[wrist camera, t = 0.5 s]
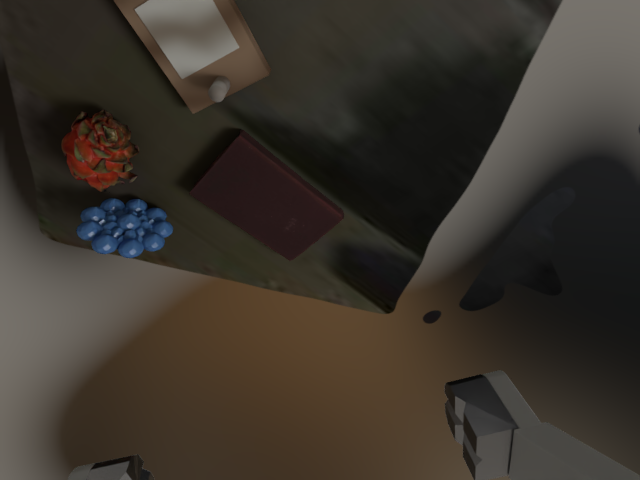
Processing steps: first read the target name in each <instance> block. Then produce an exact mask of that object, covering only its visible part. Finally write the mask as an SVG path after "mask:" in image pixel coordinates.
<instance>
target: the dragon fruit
mask: <svg viewBox="0 0 640 480" xmlns="http://www.w3.org/2000/svg"><path fill="white" fill-rule="evenodd" d="M71 128H72V132H70V133H67V134H66V135H65V136H64V138H63V140H62V144H61V146H62V151H63V154H64V156H65V157H66V156H67V164H68V166H69V169H70V171H71V174H72V175H73V176H74V178H75V179H76V180H83V181H86V182H87V183H89V184H90V186H92V187H94V188H96V189H97V190H98V191H100V192H103V191H106V190H104V189H106V188H108V187H109V186H110V185H115V184H116V183H121V184H124V183H125V182H124V181H122V180H118V177H122V178H124V179H130V180H129V183H131V182H133V181H134V180H135V179H136V178H137V175H135V174H133V173H131V172H129V170H132V169H133V165H132V163H131V162H129V160H128V159H130V158H132V157H134V156H135V155H136V154H138V153H139V146H138V145H134V144H132V143H131V142H129V139H130V134H131V131H130V129H129V127H128V126H127V125H122V124H120V123H119V122H118V121H116V120H113V117H112V114H110V113H109V112H107V111H105V110H102V111H100V112H98V113H96V114H94V115H93V117H92V118H91V119H90V118H89V117H88V114H87V113H85V112H83V111H81V112H80V113H79V115H78V116H77V118H76V120H75V121H74V122H73V123H72V126H71ZM117 180H118V181H117ZM109 193H110V192H109Z"/></svg>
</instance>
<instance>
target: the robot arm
mask: <svg viewBox="0 0 640 480" xmlns="http://www.w3.org/2000/svg"><path fill="white" fill-rule="evenodd" d="M445 394H446V396H447V398H448V400H447V402H446V403H445V413H446V417H447V421H448V425H449V427H450V430H451V432H452V434H453V437H454V439H455V441H457V442H458V443H460V444H461V445H463V458H464V460H465V462H466V464H467V466H468V468H469V470H470V472H471V474H472V477H473V479H474V480H489V479H493V478H498V477H503V476H508V475H509V478H510V479H511V480H640V475H638V474H636V473H635V472H632V471H631V470H629V469H627V468H626V467H624V466H622V465H621V464H619V463H617V462H615V461H614V460H612V459H610V458H608V457H607V456H605V455H603V454H601V453H600V452H598V451H596V450H595V449H593V448H591V447H589V446H587V445H586V444H584V443H582V442H581V441H579V440H577V439H575V438H574V437H572V436H570V435H568V434H567V433H565V432H563V431H561V430H560V429H558V428H556V427H555V426H553V425H551V424H549V423H548V422H546V423H541V422H540V421H539V419H538V418H537V417H536V415H535V414H534V412H533V411H532V410H531V408H530V407H529V405H528V404H527V403H526V401H525V400H524V399H523V397H522V396H521V394H520V393H519V392H518V390H517V389H516V387H515V386H514V385H513V383H512V382H511V380H510V379H509V378H508V376H507V375H506V374H505V373H504V372H503V371H495V372H491V373H487V374H483V375H481V374H480V375H476V376H472V377H468V378H464V379H460V380H456V381H452V382H448V383H446V384H445ZM143 463H144V461H143V460H142V459H141V457H140V456H139V455H138V454H137V455H133V456H128V457H123V458H118V459H113V460H108V461H104V462H99V463H94V464H89V465H85V466H80V467H76V468H75V469H74V471H72V473H71V474H70V475H69V478H68V480H154V477H153V475H152V474H151V472H150V471H147V470H145V469H142V467H143Z"/></svg>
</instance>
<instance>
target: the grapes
mask: <svg viewBox="0 0 640 480" xmlns="http://www.w3.org/2000/svg"><path fill="white" fill-rule="evenodd" d="M80 216H81V219H82V221H83V223H82V224H80V225H79V226H78V228H77V230H76V231H77V234H78V236H79V237H80V238H81V239H83V240H87V241H92V240H93V241H92V243H91V245H92V248H93V250H95V251H96V252H97V253H100V254H108V253H111V252H114V251H115V250H116V249H118V252H119V254H121V255H122V256H123V257H126V258H133V257H136V256H139V255H140V254H141V253H142V252H143V249H145V250H147V251H156V250H159V249H161V248H162V247H163V246H164V243H165V240H164V238H165V237H168V236H169V235H171V234H172V232H173V227H172V225H171V224H170V223H169V222H167V221H165V219H166V213H165V212H164V211H163V210H162V209H160V208H150V209H148V206H147V204H146V203H145V202H144V201H143V200H141V199H132V200H129V201H128V202H127V203H126V204H125V205H124V203H123V202H122V201H121V200H119V199H117V198H109V199H106V200H104V201H103V202H102V203H101V205H100V207H89V208H86V209H85V210H83V211H82V213H81V215H80Z"/></svg>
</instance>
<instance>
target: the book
mask: <svg viewBox="0 0 640 480" xmlns="http://www.w3.org/2000/svg"><path fill="white" fill-rule="evenodd" d="M189 194H190V195H192V196H193V197H194V198H196V199H197V200H199V201H200V202H202V203H203V204H205V205H206V206H208V207H209V208H211V209H212V210H214V211H215V212H217V213H218V214H220V215H221V216H223V217H224V218H226V219H227V220H229V221H231V222H232V223H234V224H235V225H237V226H238V227H240V228H241V229H243V230H244V231H246V232H247V233H249V234H250V235H252V236H253V237H255V238H256V239H258V240H259V241H261V242H262V243H264V244H265V245H267V246H268V247H270V248H271V249H273V250H274V251H276V252H277V253H279V254H280V255H282V256H283V257H285V258H286V259H288V260H289V261H291V260H293V259H294V258H296V257H297V256H299V255H300V254H301V253H303V252H304V251H305V250H306V249H307V248H309V247H310V246H311V245H312V244H314V243H315V242H316V241H317V240H318V239H320V238H321V237H322V236H323V235H325V234H326V233H327V232H328V231H330V230H331V229H332V228H333V227H334V226H335V225H337V224H338V223H339V222H340V221H341V220H342V219H343V218H344V213H343V211H342V209H341V208H339V207H338V206H337V205H335V204H334V203H333V202H332V201H330V200H329V199H328V198H326V197H325V196H324V195H323V194H321V193H320V192H319V191H318V190H316V189H315V188H314V187H313V186H311V185H310V184H309V183H308V182H306V181H305V180H303V179H302V178H301V177H300V176H299V175H298V174H296V173H295V172H294V171H293V170H291V169H290V168H289V167H288V166H287V165H285V164H284V163H283V162H281V161H280V160H279V159H278V158H277V157H275V156H274V155H273V154H272V153H270V152H269V151H268V150H267V149H266V148H264V147H263V146H262V145H261V144H259V143H258V142H257V141H256V140H255V139H254V138H252V137H251V136H250V135H249V134H248V133H246V132H245V131H244V130H240V133H239V135H238V137H237V138H236V139H235V140H234V141H233V142H232V143H231V145H230V146H227V147H226V148H225V149H224V151H223V152H222V153H221V154H220V155H219V156H218V157H217V158H216V160H215V161H214V162H213V163H212V164H211V165H210V167H209V168H208V169H207V170H206V171H205V172H204V173H203V175H202V176H201V177H200V178H199V180H198V181H197V182H196V183H195V185H194V188H193V189H192V190H191V192H190V193H189Z"/></svg>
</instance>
